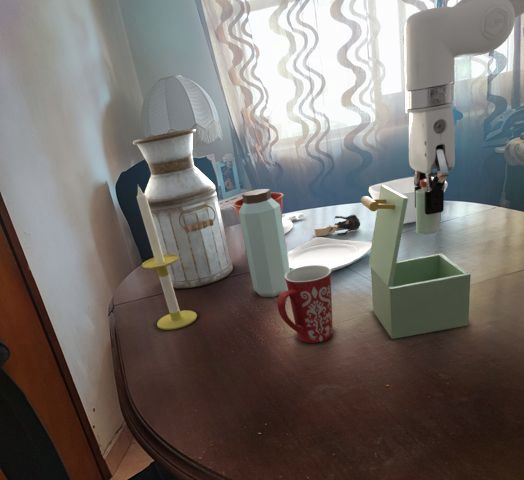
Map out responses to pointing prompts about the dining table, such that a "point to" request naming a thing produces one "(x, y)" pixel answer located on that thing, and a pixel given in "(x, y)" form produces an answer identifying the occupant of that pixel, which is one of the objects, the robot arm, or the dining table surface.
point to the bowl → (403, 188)
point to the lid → (386, 231)
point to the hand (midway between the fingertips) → (428, 209)
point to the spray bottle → (289, 221)
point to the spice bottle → (424, 221)
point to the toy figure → (339, 226)
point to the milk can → (185, 211)
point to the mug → (308, 302)
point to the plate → (327, 253)
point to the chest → (422, 296)
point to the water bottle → (264, 242)
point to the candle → (163, 271)
